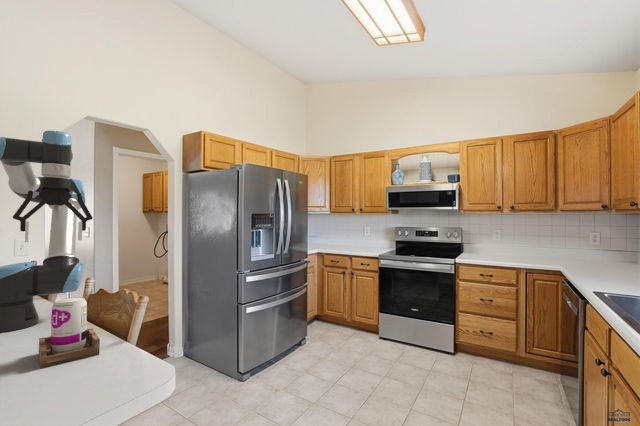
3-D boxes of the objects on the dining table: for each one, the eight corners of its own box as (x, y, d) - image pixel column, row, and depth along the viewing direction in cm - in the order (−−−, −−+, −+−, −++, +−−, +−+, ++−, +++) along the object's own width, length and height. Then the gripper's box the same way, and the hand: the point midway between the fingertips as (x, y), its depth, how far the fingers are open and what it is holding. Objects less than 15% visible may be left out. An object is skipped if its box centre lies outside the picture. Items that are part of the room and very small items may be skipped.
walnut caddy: (38, 353, 93) (39, 338, 93) (92, 342, 102) (92, 328, 102) (40, 368, 83) (40, 351, 84) (99, 354, 92) (99, 339, 92)
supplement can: (66, 357, 88) (67, 303, 88) (42, 355, 89) (44, 302, 90) (92, 346, 96) (93, 297, 96) (70, 344, 97) (71, 295, 98)
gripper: (2, 172, 94) (0, 243, 93) (102, 180, 111) (101, 240, 110) (4, 175, 99) (1, 242, 99) (99, 182, 117) (97, 239, 116)
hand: (54, 241), depth 105 cm, fingers open, 13 cm apart
